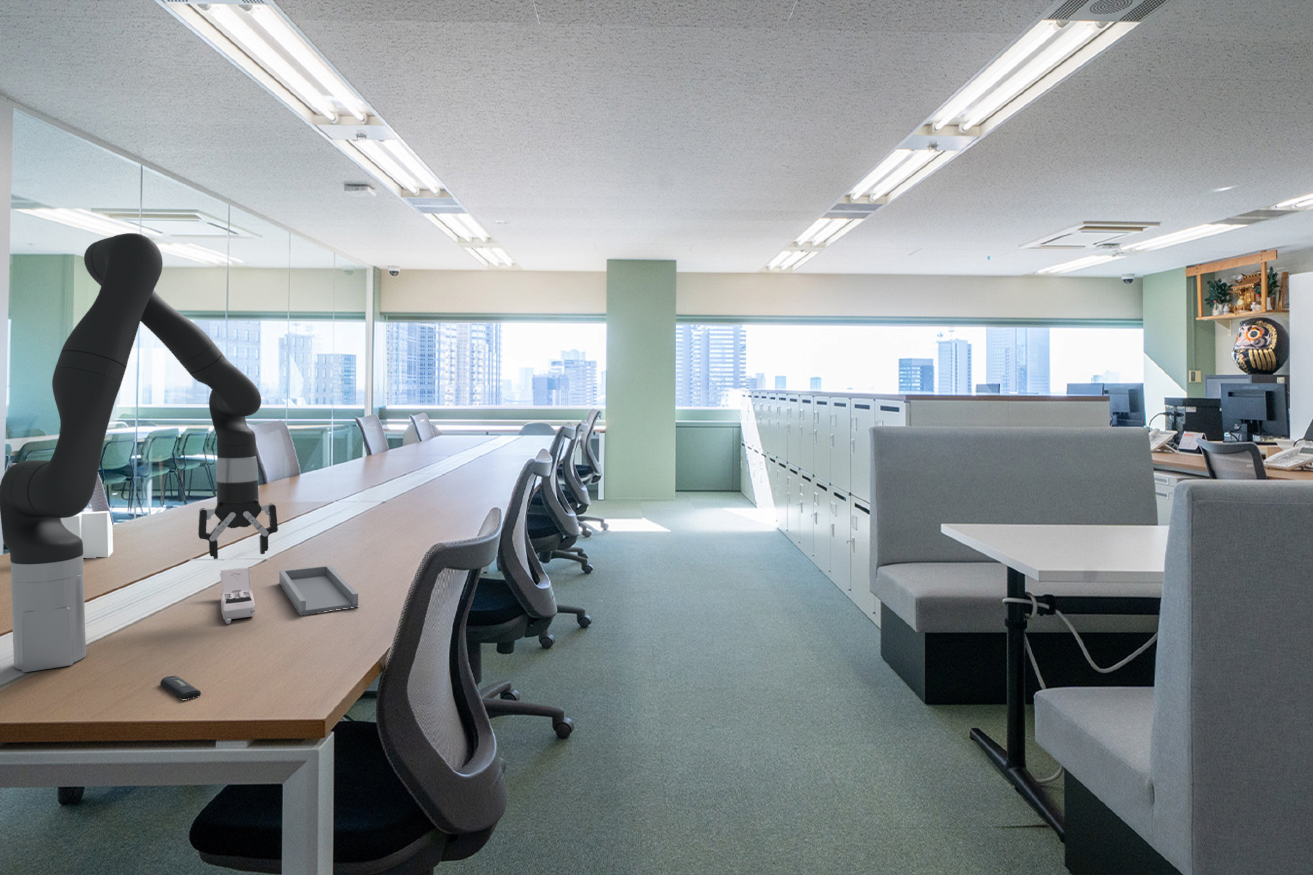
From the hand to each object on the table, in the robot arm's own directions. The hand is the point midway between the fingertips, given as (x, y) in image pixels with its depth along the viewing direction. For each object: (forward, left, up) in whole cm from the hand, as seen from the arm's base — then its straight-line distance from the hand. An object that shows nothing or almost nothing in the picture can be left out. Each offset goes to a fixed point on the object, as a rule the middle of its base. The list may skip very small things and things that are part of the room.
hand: (239, 555), depth 154 cm
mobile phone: (0, +1, -11) cm, 11 cm away
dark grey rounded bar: (-44, +12, -11) cm, 47 cm away
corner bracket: (+72, +30, -11) cm, 78 cm away
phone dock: (+2, -15, -11) cm, 19 cm away
